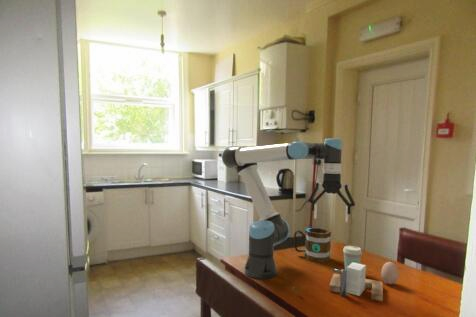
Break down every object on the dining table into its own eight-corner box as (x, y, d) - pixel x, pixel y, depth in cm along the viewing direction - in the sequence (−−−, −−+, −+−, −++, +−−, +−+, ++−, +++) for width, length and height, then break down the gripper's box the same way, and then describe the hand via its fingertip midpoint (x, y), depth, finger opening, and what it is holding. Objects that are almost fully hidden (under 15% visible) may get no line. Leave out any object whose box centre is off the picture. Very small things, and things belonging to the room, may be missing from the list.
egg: (378, 283, 137) (379, 261, 137) (384, 279, 142) (385, 258, 142) (394, 288, 133) (395, 266, 132) (400, 284, 137) (401, 262, 137)
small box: (351, 286, 134) (352, 261, 134) (365, 289, 131) (366, 264, 131) (345, 292, 128) (346, 266, 128) (359, 296, 124) (360, 270, 124)
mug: (330, 256, 173) (331, 229, 173) (329, 264, 161) (330, 235, 160) (295, 251, 180) (295, 225, 180) (291, 259, 167) (292, 231, 167)
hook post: (332, 294, 126) (332, 269, 126) (332, 291, 128) (333, 267, 128) (345, 297, 124) (346, 271, 123) (346, 294, 126) (347, 269, 126)
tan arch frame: (329, 290, 129) (329, 284, 129) (333, 278, 142) (333, 273, 142) (382, 301, 121) (382, 295, 121) (382, 287, 134) (382, 281, 134)
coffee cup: (362, 277, 144) (363, 251, 144) (343, 275, 146) (344, 249, 146) (359, 270, 153) (360, 246, 152) (341, 268, 154) (342, 244, 154)
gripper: (302, 171, 143) (301, 218, 143) (361, 174, 133) (359, 224, 133) (306, 171, 150) (304, 215, 150) (362, 173, 139) (360, 221, 140)
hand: (330, 219), depth 141 cm, fingers open, 13 cm apart
